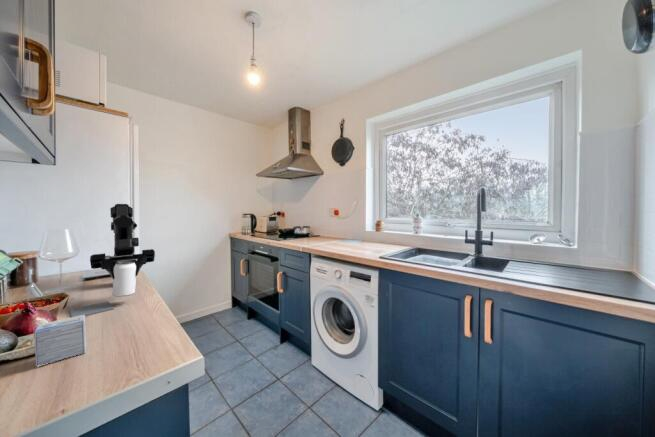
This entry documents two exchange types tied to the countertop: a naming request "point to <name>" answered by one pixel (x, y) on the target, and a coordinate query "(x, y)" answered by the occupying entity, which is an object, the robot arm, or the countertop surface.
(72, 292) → the countertop surface
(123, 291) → the can
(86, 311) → the mat
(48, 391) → the countertop surface
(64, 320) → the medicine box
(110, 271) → the robot arm
